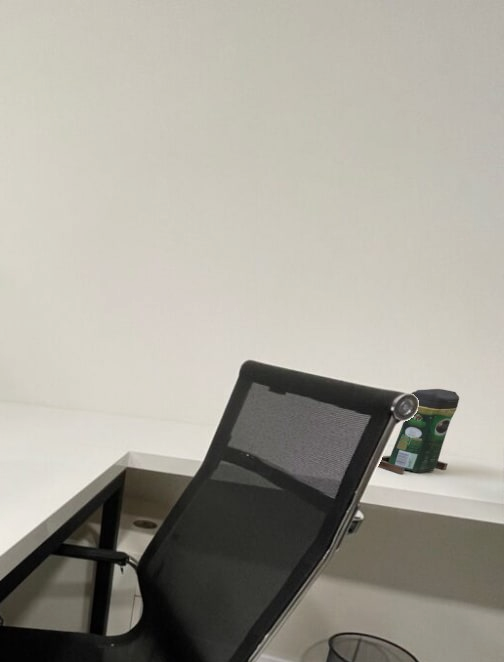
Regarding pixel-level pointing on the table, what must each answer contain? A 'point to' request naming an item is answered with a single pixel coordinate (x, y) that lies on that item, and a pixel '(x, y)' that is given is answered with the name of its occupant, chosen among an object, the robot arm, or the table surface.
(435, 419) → the coffee jar
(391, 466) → the walnut bay
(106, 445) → the table surface
